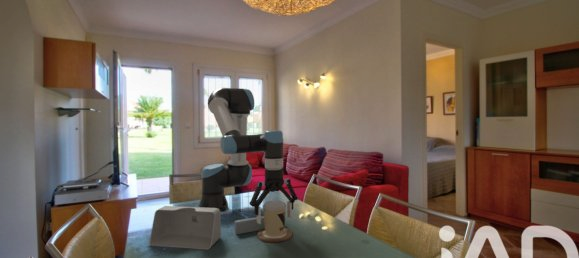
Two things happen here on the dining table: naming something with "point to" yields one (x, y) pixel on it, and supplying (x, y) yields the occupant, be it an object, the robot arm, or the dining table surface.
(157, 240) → the white open storage bin
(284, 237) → the walnut mat
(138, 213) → the dining table surface
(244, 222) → the grey wall
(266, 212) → the coffee cup
